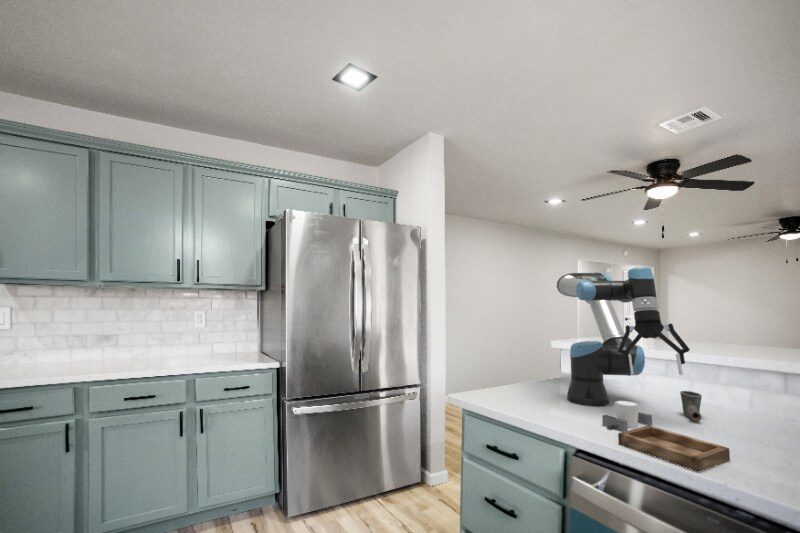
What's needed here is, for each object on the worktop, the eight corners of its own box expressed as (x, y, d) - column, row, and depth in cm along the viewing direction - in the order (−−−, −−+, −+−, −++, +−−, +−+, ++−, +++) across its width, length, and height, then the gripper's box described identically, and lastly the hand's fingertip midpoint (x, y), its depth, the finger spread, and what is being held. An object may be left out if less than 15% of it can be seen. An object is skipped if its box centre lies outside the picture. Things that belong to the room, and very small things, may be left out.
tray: (618, 444, 110) (618, 433, 110) (649, 435, 116) (648, 425, 117) (699, 472, 92) (698, 459, 92) (729, 460, 99) (729, 448, 99)
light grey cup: (631, 429, 121) (630, 407, 122) (610, 423, 127) (609, 401, 128) (644, 426, 125) (643, 404, 125) (623, 420, 131) (622, 399, 131)
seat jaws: (598, 426, 125) (598, 416, 125) (634, 417, 133) (634, 408, 134) (619, 432, 119) (619, 422, 119) (655, 423, 127) (655, 414, 128)
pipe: (685, 422, 129) (684, 397, 129) (679, 412, 140) (678, 389, 141) (708, 425, 126) (707, 400, 126) (700, 414, 137) (699, 391, 138)
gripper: (605, 311, 137) (612, 373, 131) (691, 306, 125) (704, 374, 119) (606, 315, 143) (613, 374, 137) (688, 310, 131) (701, 375, 125)
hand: (656, 374), depth 128 cm, fingers open, 13 cm apart
